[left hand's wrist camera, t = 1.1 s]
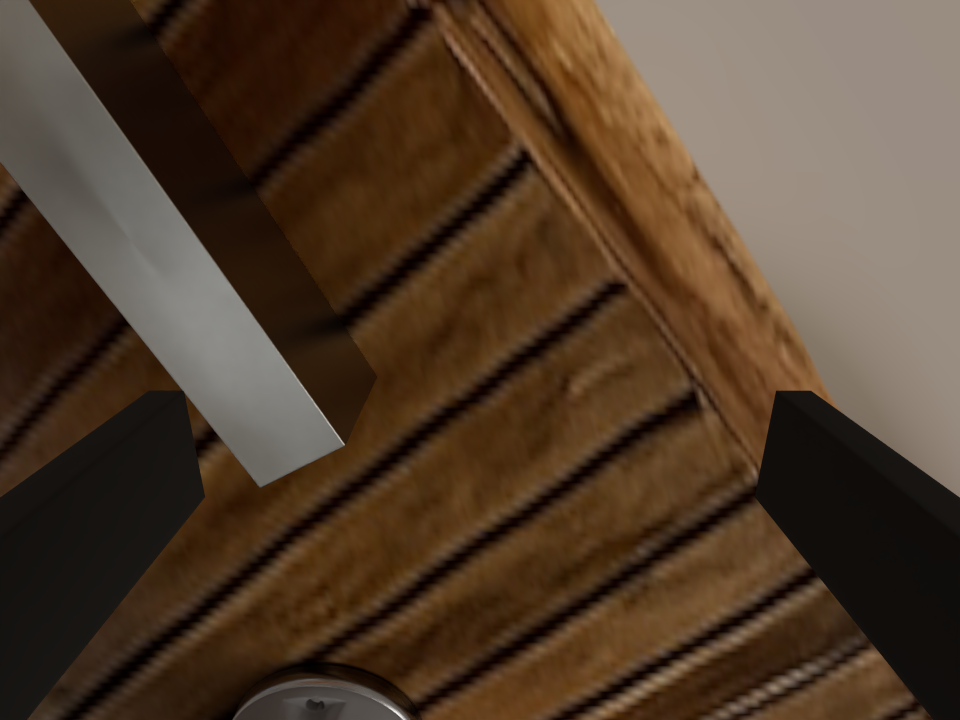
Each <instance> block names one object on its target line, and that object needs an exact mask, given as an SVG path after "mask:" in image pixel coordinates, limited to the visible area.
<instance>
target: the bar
mask: <svg viewBox="0 0 960 720" xmlns="http://www.w3.org/2000/svg"><path fill="white" fill-rule="evenodd" d="M0 162H1V163H2V165H3V166H4V167H5V168H6V170H7V171H8V172H9V173H10V175H11V176H12V177H13V179H14V180H15V181H16V182H17V184H18V185H19V186H20V187H21V189H22V190H23V191H24V192H25V194H26V195H27V196H28V197H29V199H30V200H31V201H32V202H33V204H34V205H35V206H36V207H37V209H38V210H39V211H40V212H41V214H42V215H43V216H44V217H45V219H46V220H47V221H48V222H49V224H50V225H51V226H52V227H53V229H54V230H55V231H56V232H57V234H58V235H59V236H60V237H61V239H62V240H63V241H64V242H65V244H66V245H67V246H68V248H69V249H70V250H71V251H72V253H73V254H74V255H75V256H76V258H77V259H78V260H79V261H80V263H81V264H82V265H83V266H84V268H85V269H86V270H87V271H88V273H89V274H90V275H91V276H92V278H93V279H94V280H95V281H96V283H97V284H98V285H99V286H100V288H101V289H102V290H103V291H104V293H105V294H106V295H107V296H108V298H109V299H110V300H111V301H112V303H113V304H114V305H115V306H116V308H117V309H118V310H119V311H120V313H121V314H122V315H123V316H124V318H125V319H126V320H127V322H128V323H129V324H130V325H131V327H132V328H133V329H134V330H135V332H136V333H137V334H138V335H139V337H140V338H141V339H142V340H143V342H144V343H145V344H146V345H147V347H148V348H149V349H150V350H151V352H152V353H153V354H154V355H155V357H156V358H157V359H158V360H159V362H160V363H161V364H162V365H163V367H164V368H165V369H166V370H167V372H168V373H169V374H170V375H171V377H172V378H173V379H174V380H175V382H176V383H177V384H178V385H179V387H180V388H181V389H182V391H184V393H185V394H186V396H187V397H188V398H189V399H190V401H191V402H192V403H193V404H194V406H195V407H196V408H197V409H198V411H199V412H200V413H201V414H202V416H203V417H204V418H205V419H206V421H207V422H208V423H209V424H210V426H211V427H212V428H213V429H214V431H215V432H216V433H217V434H218V436H219V437H220V438H221V439H222V441H223V442H224V443H225V444H226V446H227V447H228V448H229V449H230V451H231V452H232V453H233V454H234V456H235V457H236V458H237V460H238V461H239V462H240V463H241V465H242V466H243V467H244V468H245V470H246V471H247V472H248V473H249V475H250V476H251V477H252V478H253V480H254V481H255V482H256V483H257V485H258V486H259V487H260V488H261V487H263V486H265V485H267V484H269V483H271V482H273V481H275V480H277V479H279V478H281V477H283V476H285V475H287V474H289V473H291V472H293V471H295V470H297V469H299V468H301V467H303V466H305V465H307V464H309V463H311V462H313V461H315V460H317V459H319V458H321V457H323V456H325V455H327V454H329V453H331V452H333V451H335V450H337V449H339V448H341V447H343V446H345V445H346V443H347V441H348V438H349V436H350V434H351V432H352V430H353V428H354V426H355V423H356V421H357V419H358V417H359V415H360V413H361V410H362V408H363V406H364V404H365V402H366V400H367V398H368V395H369V393H370V391H371V389H372V387H373V385H374V383H375V380H376V378H377V376H376V375H375V373H374V372H373V370H372V368H371V367H370V365H369V364H368V362H367V361H366V359H365V358H364V356H363V355H362V353H361V352H360V350H359V349H358V347H357V346H356V344H355V343H354V341H353V340H352V338H351V337H350V335H349V334H348V332H347V330H346V329H345V327H344V326H343V324H342V323H341V321H340V320H339V318H338V317H337V315H336V314H335V312H334V311H333V309H332V308H331V306H330V305H329V303H328V302H327V300H326V299H325V297H324V296H323V294H322V292H321V291H320V289H319V288H318V286H317V285H316V283H315V282H314V280H313V279H312V277H311V276H310V274H309V273H308V271H307V270H306V268H305V267H304V265H303V264H302V262H301V261H300V259H299V257H298V256H297V254H296V253H295V251H294V250H293V248H292V247H291V245H290V244H289V242H288V241H287V239H286V238H285V236H284V235H283V233H282V232H281V230H280V229H279V227H278V226H277V224H276V223H275V221H274V219H273V218H272V216H271V215H270V213H269V212H268V210H267V209H266V207H265V206H264V204H263V203H262V201H261V200H260V198H259V197H258V195H257V194H256V192H255V191H254V189H253V188H252V186H251V185H250V183H249V181H248V180H247V178H246V177H245V175H244V174H243V172H242V171H241V169H240V168H239V166H238V165H237V163H236V162H235V160H234V159H233V157H232V156H231V154H230V153H229V151H228V150H227V148H226V147H225V145H224V143H223V142H222V140H221V139H220V137H219V136H218V134H217V133H216V131H215V130H214V128H213V127H212V125H211V124H210V122H209V121H208V119H207V118H206V116H205V115H204V113H203V112H202V110H201V108H200V107H199V105H198V104H197V102H196V101H195V99H194V98H193V96H192V95H191V93H190V92H189V90H188V89H187V87H186V86H185V84H184V83H183V81H182V80H181V78H180V77H179V75H178V74H177V72H176V70H175V69H174V67H173V66H172V64H171V63H170V61H169V60H168V58H167V57H166V55H165V54H164V52H163V51H162V49H161V48H160V46H159V45H158V43H157V42H156V40H155V39H154V37H153V36H152V34H151V32H150V31H149V29H148V28H147V26H146V25H145V23H144V22H143V20H142V19H141V17H140V16H139V14H138V13H137V11H136V10H135V8H134V7H133V5H132V4H131V2H130V1H129V0H0Z"/></svg>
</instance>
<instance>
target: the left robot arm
mask: <svg viewBox="0 0 960 720" xmlns="http://www.w3.org/2000/svg"><path fill="white" fill-rule="evenodd" d="M204 498H205V494H204V489H203V484H202V479H201V474H200V469H199V464H198V459H197V454H196V449H195V444H194V439H193V434H192V429H191V424H190V419H189V414H188V409H187V404H186V399H185V394H184V391H148V392H147V393H145V394H144V395H143V396H141V397H140V398H138V399H137V400H136V401H134V402H133V403H131V404H130V405H129V406H127V407H126V408H124V409H123V410H122V411H120V412H119V413H118V414H116V415H115V416H113V417H112V418H111V419H109V420H108V421H106V422H105V423H104V424H102V425H101V426H99V427H98V428H97V429H95V430H94V431H92V432H91V433H90V434H88V435H87V436H85V437H84V438H83V439H81V440H80V441H78V442H77V443H76V444H74V445H73V446H72V447H70V448H69V449H67V450H66V451H65V452H63V453H62V454H60V455H59V456H58V457H56V458H55V459H53V460H52V461H51V462H49V463H48V464H46V465H45V466H44V467H42V468H41V469H39V470H38V471H37V472H35V473H34V474H33V475H31V476H30V477H28V478H27V479H26V480H24V481H23V482H21V483H20V484H19V485H17V486H16V487H14V488H13V489H12V490H10V491H9V492H7V493H6V494H5V495H3V496H2V497H0V720H27V719H28V717H29V716H30V715H31V714H32V712H33V711H34V710H35V709H36V707H37V706H38V705H39V704H40V702H41V701H42V700H43V699H44V697H45V696H46V695H47V694H48V692H49V691H50V690H51V689H52V687H53V686H54V685H55V684H56V682H57V681H58V680H59V679H60V677H61V676H62V675H63V674H64V672H65V671H66V670H67V669H68V667H69V666H70V665H71V664H72V662H73V661H74V660H75V659H76V657H77V656H78V655H79V654H80V652H81V651H82V650H83V649H84V647H85V646H86V645H87V644H88V642H89V641H90V640H91V639H92V637H93V636H94V635H95V634H96V632H97V631H98V630H99V629H100V627H101V626H102V625H103V624H104V622H105V621H106V620H107V619H108V617H109V616H110V615H111V614H112V612H113V611H114V610H115V609H116V607H117V606H118V605H119V604H120V602H121V601H122V600H123V599H124V597H125V596H126V595H127V594H128V592H129V591H130V590H131V589H132V588H133V586H134V585H135V584H136V583H137V581H138V580H139V579H140V578H141V576H142V575H143V574H144V573H145V571H146V570H147V569H148V568H149V566H150V565H151V564H152V563H153V561H154V560H155V559H156V558H157V556H158V555H159V554H160V553H161V551H162V550H163V549H164V548H165V546H166V545H167V544H168V543H169V541H170V540H171V539H172V538H173V536H174V535H175V534H176V533H177V531H178V530H179V529H180V528H181V526H182V525H183V524H184V523H185V521H186V520H187V519H188V518H189V516H190V515H191V514H192V513H193V511H194V510H195V509H196V508H197V506H198V505H199V504H200V503H201V501H202V500H203V499H204ZM755 498H756V499H757V500H758V501H759V503H760V504H761V505H762V506H763V508H764V509H765V510H766V511H767V513H768V514H769V515H770V516H771V518H772V519H773V520H774V521H775V523H776V524H777V525H778V526H779V528H780V529H781V530H782V531H783V533H784V534H785V535H786V536H787V538H788V539H789V540H790V541H791V543H792V544H793V545H794V546H795V548H796V549H797V550H798V551H799V553H800V554H801V555H802V556H803V558H804V559H805V560H806V561H807V563H808V564H809V565H810V566H811V568H812V569H813V570H814V571H815V573H816V574H817V575H818V576H819V578H820V579H821V580H822V581H823V583H824V584H825V585H826V586H827V588H828V589H829V590H830V591H831V593H832V594H833V595H834V596H835V597H836V599H837V600H838V601H839V602H840V604H841V605H842V606H843V607H844V609H845V610H846V611H847V612H848V614H849V615H850V616H851V617H852V619H853V620H854V621H855V622H856V624H857V625H858V626H859V627H860V629H861V630H862V631H863V632H864V634H865V635H866V636H867V637H868V639H869V640H870V641H871V642H872V644H873V645H874V646H875V647H876V649H877V650H878V651H879V652H880V654H881V655H882V656H883V657H884V659H885V660H886V661H887V662H888V664H889V665H890V666H891V667H892V669H893V670H894V671H895V672H896V674H897V675H898V676H899V677H900V679H901V680H902V681H903V682H904V684H905V685H906V686H907V687H908V689H909V690H910V691H911V692H912V694H913V695H914V696H915V697H916V699H917V700H918V701H919V702H920V704H921V705H922V706H923V707H924V709H925V710H926V711H927V712H928V714H929V715H930V716H931V717H932V719H933V720H960V497H958V496H957V495H955V494H954V493H953V492H951V491H950V490H948V489H947V488H946V487H944V486H943V485H941V484H940V483H939V482H937V481H936V480H934V479H933V478H932V477H930V476H929V475H927V474H926V473H925V472H923V471H922V470H921V469H919V468H918V467H916V466H915V465H914V464H912V463H911V462H909V461H908V460H907V459H905V458H904V457H902V456H901V455H900V454H898V453H897V452H895V451H894V450H893V449H891V448H890V447H888V446H887V445H886V444H884V443H883V442H882V441H880V440H879V439H877V438H876V437H874V436H873V435H872V434H870V433H869V432H868V431H866V430H865V429H863V428H862V427H861V426H859V425H858V424H856V423H855V422H854V421H852V420H851V419H849V418H848V417H847V416H845V415H844V414H842V413H841V412H840V411H838V410H837V409H836V408H834V407H833V406H831V405H830V404H829V403H827V402H826V401H824V400H823V399H822V398H820V397H819V396H817V395H816V394H815V393H813V392H812V391H776V394H775V399H774V404H773V409H772V414H771V419H770V424H769V429H768V434H767V439H766V444H765V449H764V454H763V459H762V464H761V469H760V474H759V479H758V484H757V489H756V494H755ZM233 720H422V719H421V717H420V715H419V713H418V711H417V710H416V708H415V707H414V705H413V704H412V703H411V702H410V701H409V699H408V698H407V697H406V696H405V695H403V694H402V693H401V692H400V691H399V690H397V689H396V688H395V687H393V686H392V685H390V684H389V683H387V682H385V681H384V680H382V679H380V678H378V677H375V676H373V675H371V674H368V673H365V672H363V671H359V670H356V669H352V668H347V667H341V666H334V665H307V666H300V667H294V668H290V669H286V670H283V671H280V672H277V673H275V674H272V675H270V676H268V677H266V678H265V679H263V680H261V681H260V682H258V683H257V684H256V685H254V686H253V687H252V688H251V689H250V690H249V691H248V692H247V693H246V695H245V696H244V697H243V699H242V700H241V702H240V704H239V706H238V708H237V710H236V713H235V715H234V717H233Z"/></svg>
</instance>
